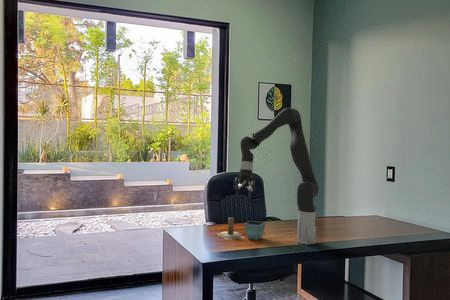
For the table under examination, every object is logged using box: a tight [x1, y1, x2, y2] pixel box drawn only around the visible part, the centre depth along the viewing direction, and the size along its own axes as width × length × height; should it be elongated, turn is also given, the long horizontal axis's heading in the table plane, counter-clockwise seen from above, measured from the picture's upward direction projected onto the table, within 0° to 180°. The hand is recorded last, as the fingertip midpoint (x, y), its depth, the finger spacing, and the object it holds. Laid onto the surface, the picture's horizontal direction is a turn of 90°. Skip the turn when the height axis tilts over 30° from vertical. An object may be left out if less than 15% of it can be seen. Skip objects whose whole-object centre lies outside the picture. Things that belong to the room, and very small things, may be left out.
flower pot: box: [244, 220, 266, 241], centre depth 212 cm, size 9×9×9 cm
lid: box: [219, 216, 242, 239], centre depth 215 cm, size 12×12×10 cm
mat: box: [216, 233, 246, 240], centre depth 215 cm, size 12×12×1 cm
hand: (243, 196), depth 226 cm, fingers open, 8 cm apart
